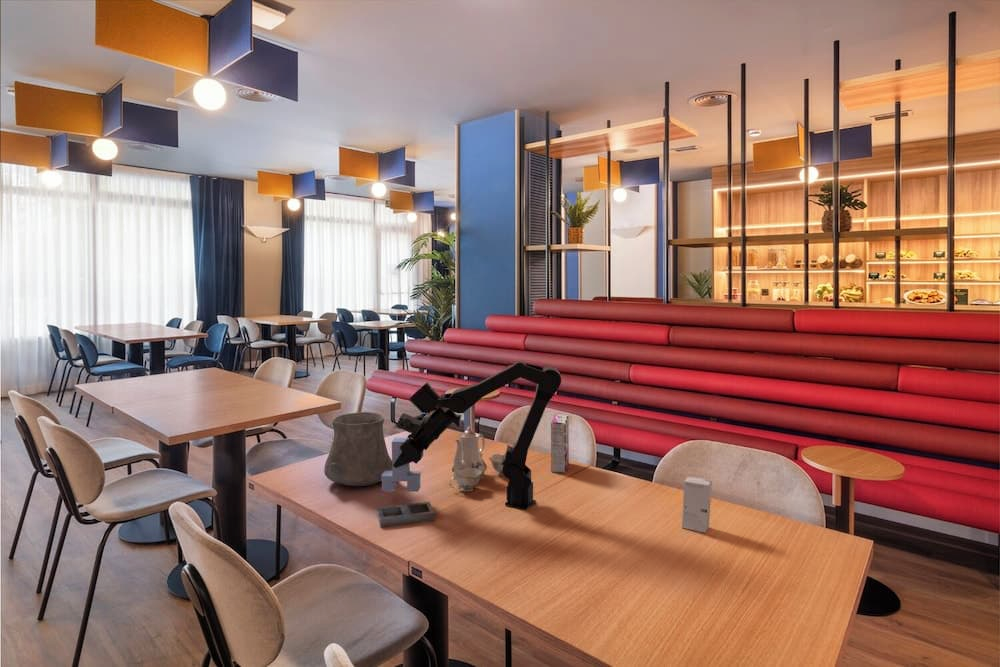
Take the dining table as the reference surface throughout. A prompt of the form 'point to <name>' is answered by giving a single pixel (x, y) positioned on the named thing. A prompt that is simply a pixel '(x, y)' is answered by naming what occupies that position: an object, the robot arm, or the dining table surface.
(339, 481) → the vessel
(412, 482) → the blue-gray inverted t block
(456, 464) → the chinaware
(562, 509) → the dining table surface
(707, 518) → the skincare box
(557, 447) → the candy bar box
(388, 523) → the rail
